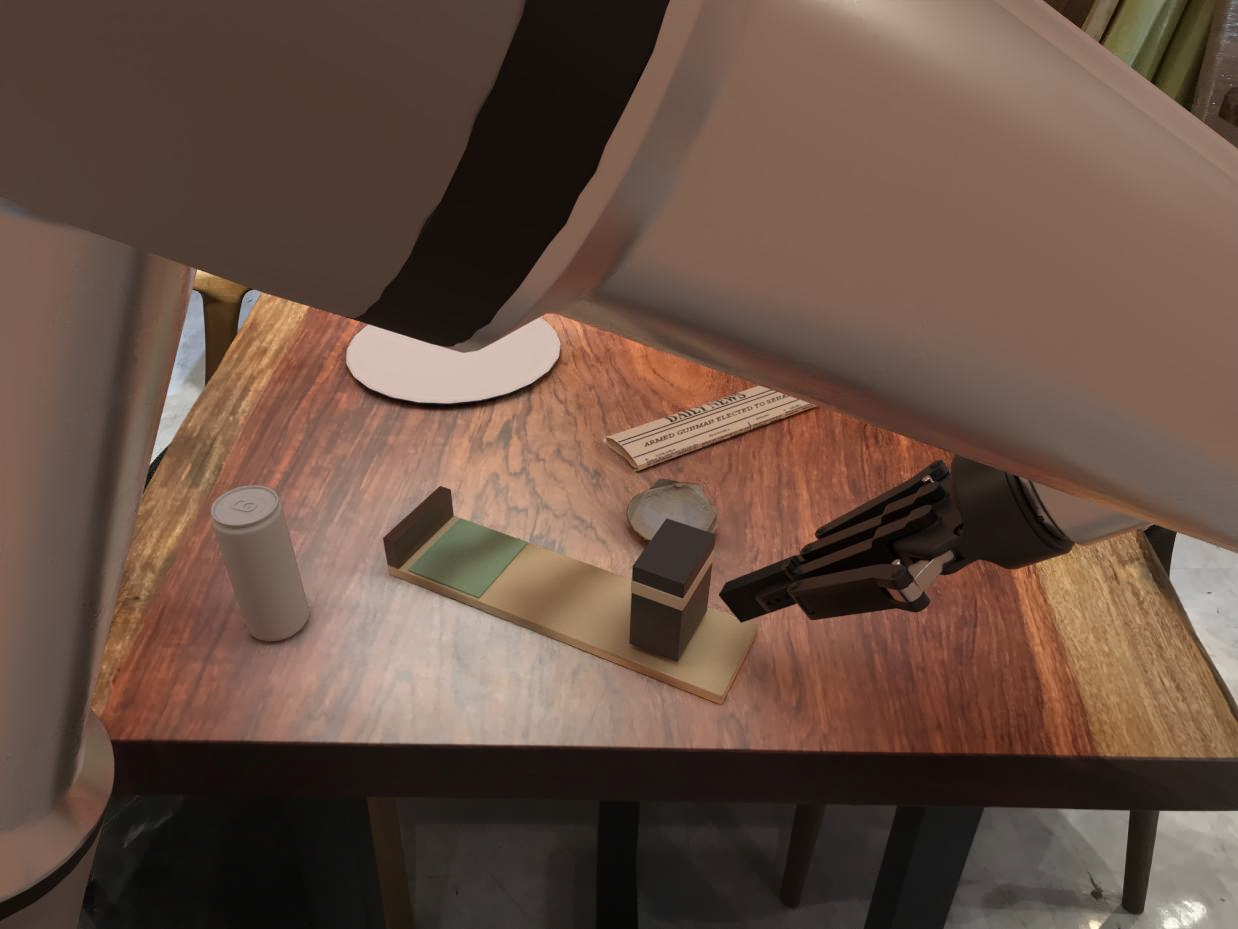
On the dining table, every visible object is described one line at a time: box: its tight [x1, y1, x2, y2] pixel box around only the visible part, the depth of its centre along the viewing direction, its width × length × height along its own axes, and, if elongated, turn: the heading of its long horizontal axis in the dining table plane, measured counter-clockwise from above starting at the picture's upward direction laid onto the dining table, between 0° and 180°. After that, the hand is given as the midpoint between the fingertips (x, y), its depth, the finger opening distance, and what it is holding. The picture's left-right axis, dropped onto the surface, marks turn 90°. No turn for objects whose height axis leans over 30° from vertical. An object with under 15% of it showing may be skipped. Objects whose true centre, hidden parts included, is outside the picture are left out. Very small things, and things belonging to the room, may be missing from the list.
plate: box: [345, 317, 562, 406], centre depth 106 cm, size 25×25×1 cm
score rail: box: [382, 485, 759, 705], centre depth 72 cm, size 30×8×4 cm, turn 64°
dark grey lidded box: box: [629, 518, 717, 662], centre depth 67 cm, size 4×6×8 cm
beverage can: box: [210, 484, 310, 642], centre depth 67 cm, size 5×5×12 cm
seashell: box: [626, 477, 720, 542], centre depth 80 cm, size 8×3×8 cm
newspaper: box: [601, 385, 817, 472], centre depth 95 cm, size 24×7×2 cm, turn 122°
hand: (733, 602), depth 65 cm, fingers closed
